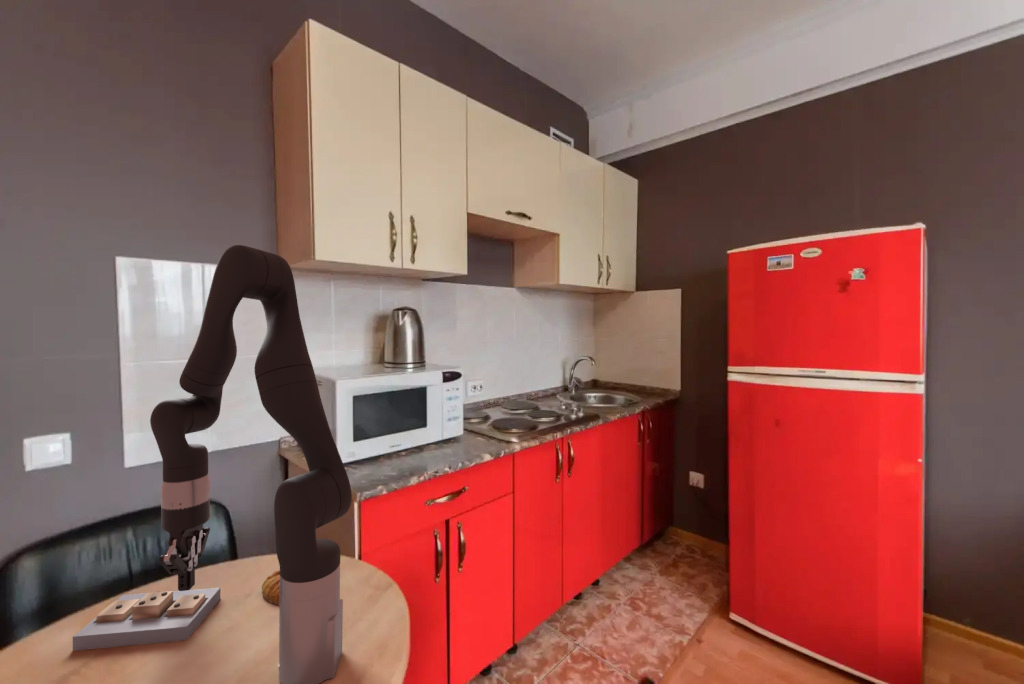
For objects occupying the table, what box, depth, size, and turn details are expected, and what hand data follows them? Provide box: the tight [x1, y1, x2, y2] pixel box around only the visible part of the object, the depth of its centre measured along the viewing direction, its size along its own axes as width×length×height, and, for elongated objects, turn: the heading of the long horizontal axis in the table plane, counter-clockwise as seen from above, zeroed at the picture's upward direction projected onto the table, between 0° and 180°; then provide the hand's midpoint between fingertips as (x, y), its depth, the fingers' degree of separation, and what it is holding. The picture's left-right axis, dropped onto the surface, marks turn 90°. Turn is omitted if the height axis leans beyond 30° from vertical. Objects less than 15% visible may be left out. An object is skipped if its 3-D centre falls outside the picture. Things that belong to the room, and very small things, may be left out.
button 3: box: [132, 590, 174, 620], centre depth 81 cm, size 4×4×3 cm
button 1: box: [96, 599, 140, 623], centre depth 80 cm, size 4×4×3 cm
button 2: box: [167, 594, 205, 617], centre depth 82 cm, size 4×4×3 cm
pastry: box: [261, 569, 280, 606], centre depth 91 cm, size 9×7×4 cm
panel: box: [72, 587, 221, 651], centre depth 82 cm, size 18×12×2 cm, turn 100°
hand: (186, 588), depth 82 cm, fingers closed
